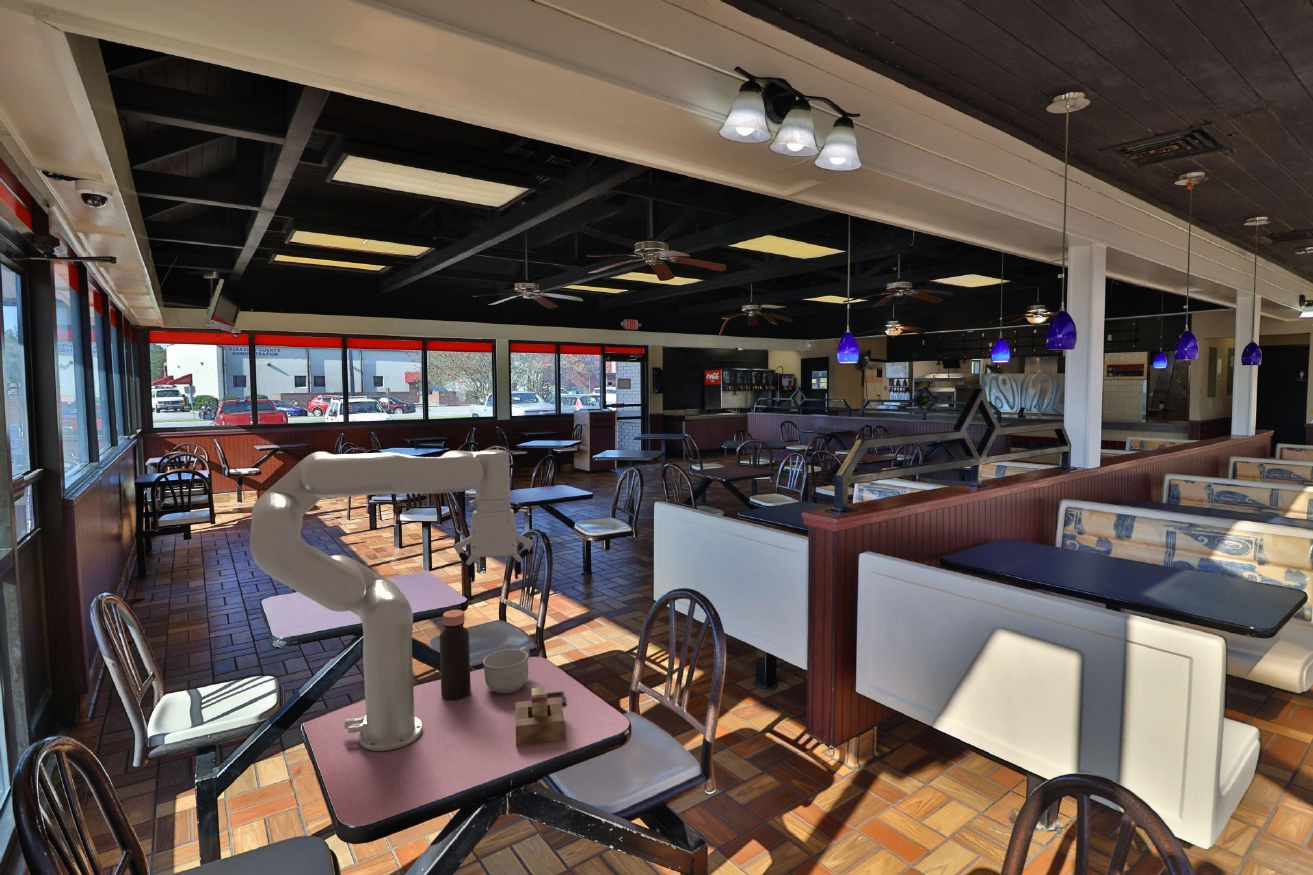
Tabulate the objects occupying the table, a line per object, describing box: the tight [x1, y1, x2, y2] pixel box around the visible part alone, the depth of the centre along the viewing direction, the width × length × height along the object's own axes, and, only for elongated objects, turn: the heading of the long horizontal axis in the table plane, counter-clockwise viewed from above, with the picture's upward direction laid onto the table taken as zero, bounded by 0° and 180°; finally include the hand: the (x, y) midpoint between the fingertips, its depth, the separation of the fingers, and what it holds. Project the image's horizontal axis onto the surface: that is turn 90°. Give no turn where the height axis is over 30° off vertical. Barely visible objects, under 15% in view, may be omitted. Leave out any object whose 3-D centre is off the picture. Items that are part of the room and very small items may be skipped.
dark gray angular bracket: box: [547, 691, 566, 707], centre depth 155 cm, size 8×6×1 cm
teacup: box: [482, 646, 530, 695], centre depth 163 cm, size 14×11×8 cm
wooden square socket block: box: [514, 697, 566, 747], centre depth 142 cm, size 10×10×4 cm
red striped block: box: [531, 686, 548, 718], centre depth 142 cm, size 3×3×9 cm
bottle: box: [438, 609, 472, 701], centre depth 158 cm, size 7×7×20 cm
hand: (495, 578), depth 150 cm, fingers open, 9 cm apart
